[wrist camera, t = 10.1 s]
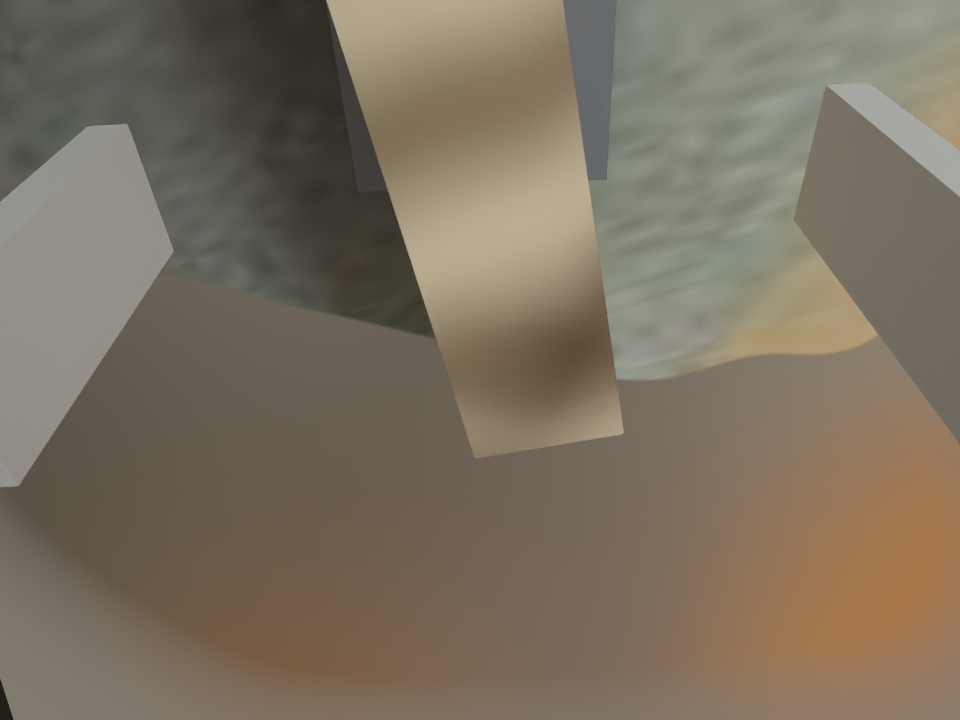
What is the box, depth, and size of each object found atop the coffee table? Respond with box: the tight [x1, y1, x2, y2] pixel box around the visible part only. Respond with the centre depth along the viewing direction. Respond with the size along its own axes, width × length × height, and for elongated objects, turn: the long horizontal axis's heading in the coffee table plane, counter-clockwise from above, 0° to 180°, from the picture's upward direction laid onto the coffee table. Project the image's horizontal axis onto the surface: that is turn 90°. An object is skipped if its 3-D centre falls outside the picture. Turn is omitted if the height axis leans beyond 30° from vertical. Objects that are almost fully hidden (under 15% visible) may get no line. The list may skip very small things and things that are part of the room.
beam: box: [326, 0, 624, 458], centre depth 19 cm, size 22×5×5 cm, turn 13°
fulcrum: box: [325, 0, 616, 193], centre depth 24 cm, size 12×10×8 cm
